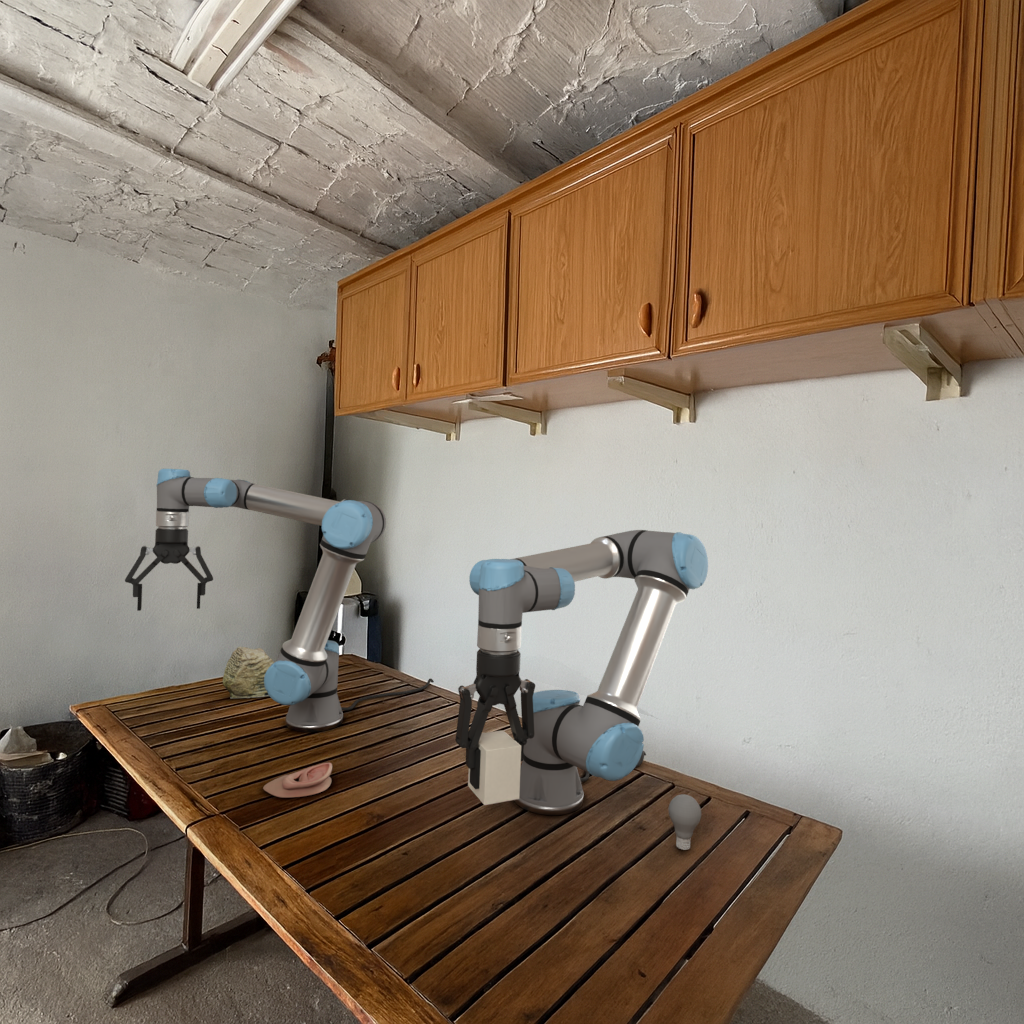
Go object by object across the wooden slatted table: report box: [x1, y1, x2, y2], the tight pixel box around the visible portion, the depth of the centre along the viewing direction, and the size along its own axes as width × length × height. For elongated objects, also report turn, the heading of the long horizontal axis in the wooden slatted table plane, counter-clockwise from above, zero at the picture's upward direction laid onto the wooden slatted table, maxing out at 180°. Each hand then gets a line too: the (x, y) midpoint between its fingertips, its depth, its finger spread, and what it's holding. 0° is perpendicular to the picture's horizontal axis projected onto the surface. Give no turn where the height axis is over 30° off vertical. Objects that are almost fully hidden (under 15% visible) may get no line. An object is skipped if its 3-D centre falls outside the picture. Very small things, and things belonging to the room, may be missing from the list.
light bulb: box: [667, 793, 702, 851], centre depth 119 cm, size 6×6×10 cm
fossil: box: [222, 646, 275, 699], centre depth 198 cm, size 9×18×15 cm, turn 132°
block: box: [467, 730, 522, 806], centre depth 109 cm, size 8×6×9 cm
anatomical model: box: [262, 762, 333, 799], centre depth 138 cm, size 13×4×12 cm
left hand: (169, 608), depth 166 cm, fingers open, 13 cm apart
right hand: (493, 782), depth 109 cm, fingers closed on block, 6 cm apart
